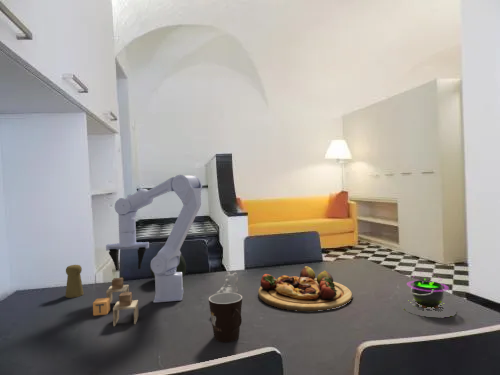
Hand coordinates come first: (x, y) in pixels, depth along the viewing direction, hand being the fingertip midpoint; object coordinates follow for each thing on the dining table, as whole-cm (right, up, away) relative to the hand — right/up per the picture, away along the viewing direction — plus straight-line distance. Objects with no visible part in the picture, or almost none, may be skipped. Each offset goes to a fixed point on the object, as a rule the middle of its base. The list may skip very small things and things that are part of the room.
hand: (128, 269), depth 125 cm
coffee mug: (+38, -9, -37) cm, 54 cm away
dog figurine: (+37, -9, -15) cm, 41 cm away
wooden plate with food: (+63, -9, -5) cm, 63 cm away
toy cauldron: (+97, -7, -20) cm, 100 cm away
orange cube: (-3, -10, -16) cm, 19 cm away
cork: (-21, -10, +2) cm, 23 cm away
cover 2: (+8, -10, -24) cm, 27 cm away
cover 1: (-1, -10, -7) cm, 12 cm away
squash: (+10, -9, +18) cm, 23 cm away
